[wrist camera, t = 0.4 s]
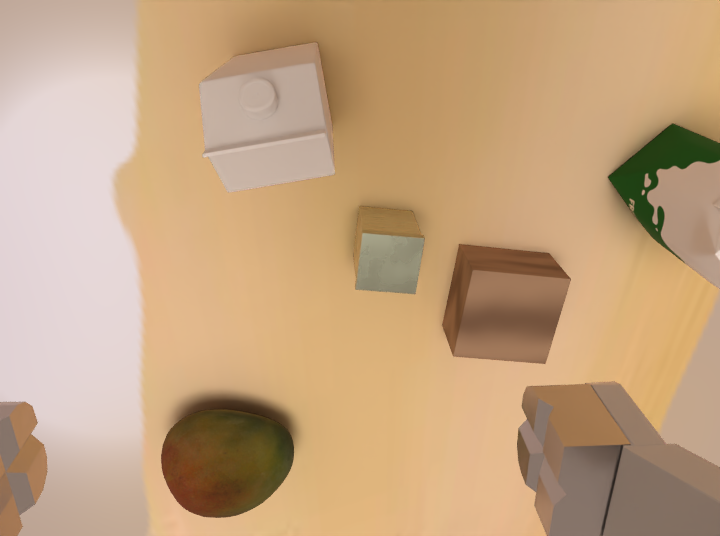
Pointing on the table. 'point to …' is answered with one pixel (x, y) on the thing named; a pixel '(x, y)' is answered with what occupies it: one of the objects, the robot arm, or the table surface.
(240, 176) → the milk carton
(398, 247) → the grey wooden block
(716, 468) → the robot arm
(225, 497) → the fruit
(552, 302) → the walnut block
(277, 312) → the table surface
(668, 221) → the soya milk
